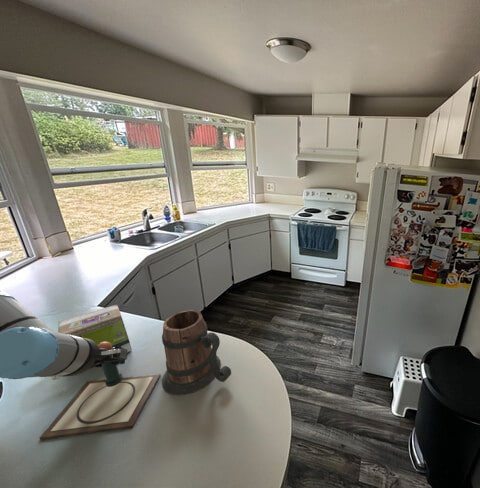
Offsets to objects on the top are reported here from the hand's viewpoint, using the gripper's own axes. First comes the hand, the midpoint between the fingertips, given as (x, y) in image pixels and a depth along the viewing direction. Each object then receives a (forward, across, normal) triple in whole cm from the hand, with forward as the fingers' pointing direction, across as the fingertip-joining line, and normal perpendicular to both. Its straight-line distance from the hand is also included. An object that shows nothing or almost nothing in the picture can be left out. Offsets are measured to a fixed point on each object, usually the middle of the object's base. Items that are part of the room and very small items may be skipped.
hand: (116, 360), depth 71 cm
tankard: (+4, +21, -9) cm, 23 cm away
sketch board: (+3, -2, -11) cm, 11 cm away
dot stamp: (0, 0, -5) cm, 5 cm away
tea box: (+19, -10, +5) cm, 22 cm away
